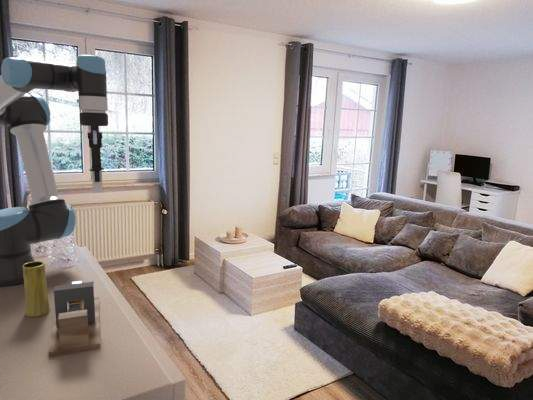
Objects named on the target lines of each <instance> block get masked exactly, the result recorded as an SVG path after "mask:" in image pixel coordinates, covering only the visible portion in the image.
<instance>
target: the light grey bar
mask: <svg viewBox="0 0 533 400" xmlns="http://www.w3.org/2000/svg"><path fill="white" fill-rule="evenodd" d="M78 283H83V280H78V281H71V284H78ZM80 310H82V300H81V301H74V302H69V310H68V312H73V311H80Z"/></svg>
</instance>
